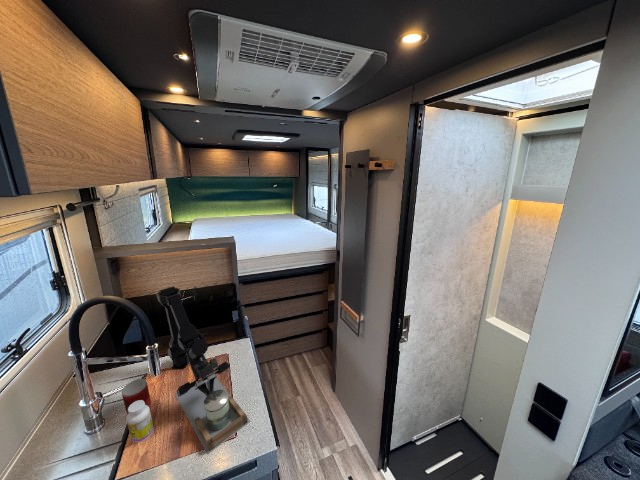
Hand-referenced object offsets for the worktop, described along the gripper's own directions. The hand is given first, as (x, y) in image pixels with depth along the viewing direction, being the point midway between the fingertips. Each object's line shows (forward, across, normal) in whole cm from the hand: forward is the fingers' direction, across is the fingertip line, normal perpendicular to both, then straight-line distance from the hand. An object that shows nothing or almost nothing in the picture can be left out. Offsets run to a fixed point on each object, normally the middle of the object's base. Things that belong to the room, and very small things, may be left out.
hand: (212, 400), depth 95 cm
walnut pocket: (+9, 0, +1) cm, 9 cm away
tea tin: (+7, 0, +1) cm, 7 cm away
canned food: (-12, -20, +21) cm, 31 cm away
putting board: (+2, 0, +7) cm, 8 cm away
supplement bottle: (-3, -21, +12) cm, 25 cm away
